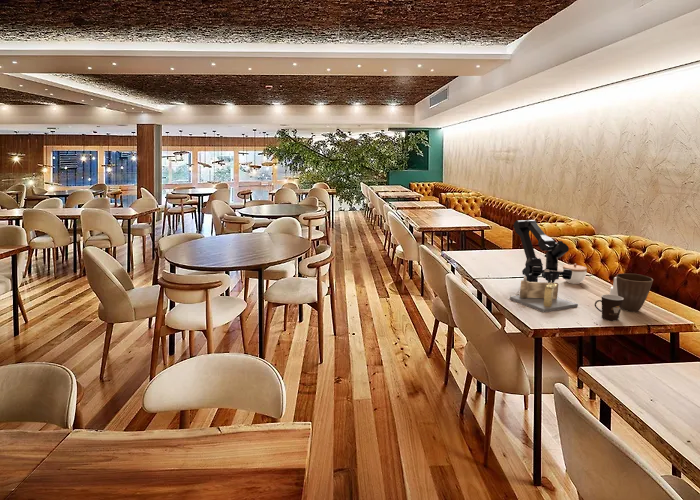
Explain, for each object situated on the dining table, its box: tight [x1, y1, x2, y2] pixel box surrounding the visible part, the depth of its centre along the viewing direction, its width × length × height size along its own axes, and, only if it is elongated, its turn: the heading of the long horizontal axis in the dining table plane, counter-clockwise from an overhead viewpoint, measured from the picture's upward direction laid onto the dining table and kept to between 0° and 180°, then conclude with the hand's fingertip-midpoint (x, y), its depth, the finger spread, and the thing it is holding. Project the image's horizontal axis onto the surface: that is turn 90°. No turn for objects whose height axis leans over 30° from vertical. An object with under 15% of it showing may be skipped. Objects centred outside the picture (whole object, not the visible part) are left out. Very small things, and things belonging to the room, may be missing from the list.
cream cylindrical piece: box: [609, 276, 618, 296], centre depth 240 cm, size 9×9×12 cm
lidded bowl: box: [562, 263, 588, 285], centre depth 274 cm, size 13×13×11 cm
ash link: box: [519, 279, 560, 299], centre depth 237 cm, size 18×4×8 cm, turn 85°
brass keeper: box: [543, 283, 557, 307], centre depth 227 cm, size 3×8×11 cm, turn 141°
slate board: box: [509, 294, 579, 313], centre depth 234 cm, size 22×22×2 cm
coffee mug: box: [594, 294, 624, 322], centre depth 212 cm, size 12×9×10 cm
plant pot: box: [616, 273, 654, 313], centre depth 224 cm, size 15×15×16 cm
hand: (550, 286), depth 238 cm, fingers closed
